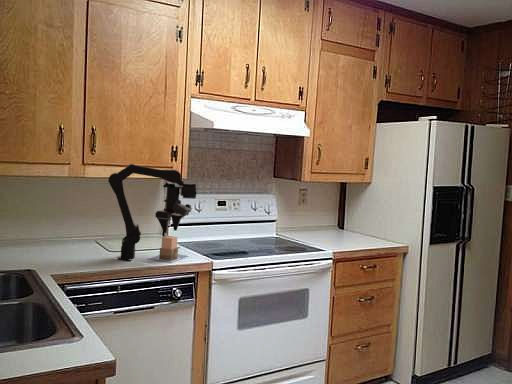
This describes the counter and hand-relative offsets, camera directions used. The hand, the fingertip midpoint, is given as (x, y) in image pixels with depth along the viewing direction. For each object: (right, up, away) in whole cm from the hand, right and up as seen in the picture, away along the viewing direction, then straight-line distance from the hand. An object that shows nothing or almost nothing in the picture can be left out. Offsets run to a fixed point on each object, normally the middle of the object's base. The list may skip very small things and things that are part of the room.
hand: (170, 231), depth 222 cm
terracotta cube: (-1, -7, +1) cm, 7 cm away
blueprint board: (-1, -13, +3) cm, 13 cm away
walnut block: (-1, -12, +1) cm, 12 cm away
